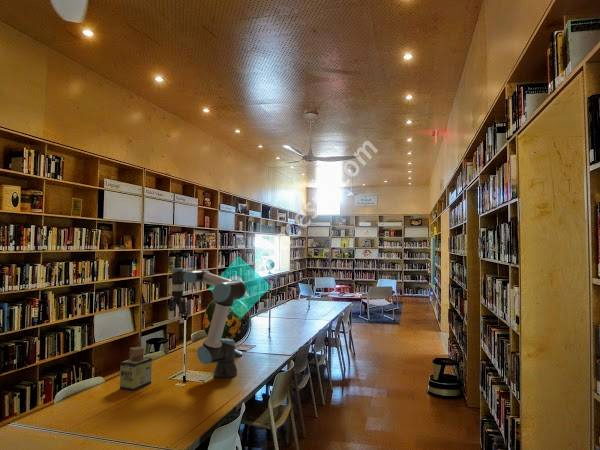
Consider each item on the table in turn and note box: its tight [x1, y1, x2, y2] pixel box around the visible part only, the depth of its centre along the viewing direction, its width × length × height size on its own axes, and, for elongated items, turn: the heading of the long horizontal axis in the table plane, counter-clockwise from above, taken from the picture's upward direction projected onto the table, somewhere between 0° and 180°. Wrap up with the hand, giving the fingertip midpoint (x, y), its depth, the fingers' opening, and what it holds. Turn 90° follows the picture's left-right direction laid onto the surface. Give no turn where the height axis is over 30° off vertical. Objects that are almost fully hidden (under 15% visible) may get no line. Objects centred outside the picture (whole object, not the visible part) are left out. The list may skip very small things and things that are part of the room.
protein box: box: [119, 356, 153, 392], centre depth 248 cm, size 10×16×16 cm
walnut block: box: [129, 346, 145, 362], centre depth 248 cm, size 6×6×7 cm
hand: (176, 321), depth 282 cm, fingers open, 13 cm apart
